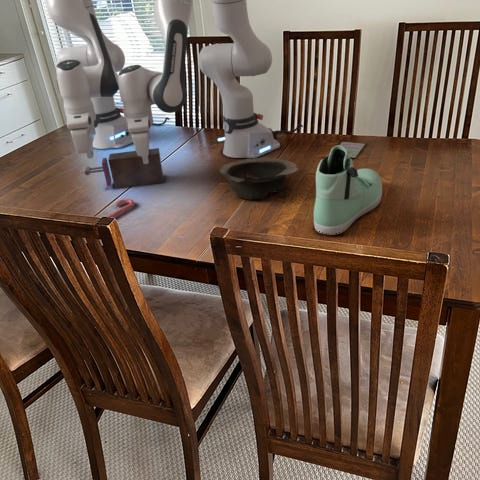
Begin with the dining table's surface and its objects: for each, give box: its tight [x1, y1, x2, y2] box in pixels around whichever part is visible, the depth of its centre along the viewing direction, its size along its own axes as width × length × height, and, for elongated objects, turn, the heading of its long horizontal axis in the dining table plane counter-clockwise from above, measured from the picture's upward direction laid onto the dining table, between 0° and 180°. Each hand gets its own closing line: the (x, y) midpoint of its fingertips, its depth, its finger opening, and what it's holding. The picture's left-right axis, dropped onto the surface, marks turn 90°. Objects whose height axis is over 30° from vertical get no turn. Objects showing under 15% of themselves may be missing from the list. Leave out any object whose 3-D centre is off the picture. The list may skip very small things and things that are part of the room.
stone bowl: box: [217, 157, 299, 201], centre depth 152 cm, size 25×25×9 cm
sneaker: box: [313, 145, 383, 236], centre depth 133 cm, size 14×35×20 cm, turn 152°
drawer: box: [84, 157, 113, 187], centre depth 162 cm, size 22×4×9 cm, turn 99°
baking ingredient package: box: [338, 141, 366, 158], centre depth 177 cm, size 9×1×15 cm
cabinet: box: [107, 147, 165, 190], centre depth 163 cm, size 17×6×10 cm, turn 99°
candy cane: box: [106, 198, 135, 218], centre depth 146 cm, size 6×15×2 cm, turn 145°
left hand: (90, 156), depth 158 cm, fingers closed
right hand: (146, 159), depth 162 cm, fingers closed on cabinet, 6 cm apart
